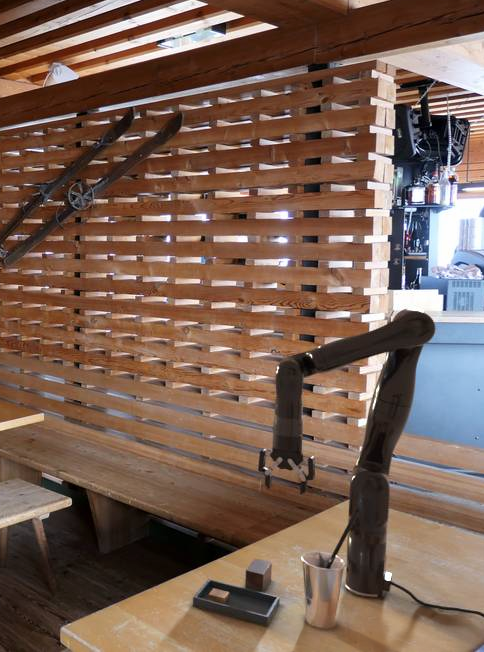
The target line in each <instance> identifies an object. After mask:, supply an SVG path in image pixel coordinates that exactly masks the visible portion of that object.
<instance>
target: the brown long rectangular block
mask: <svg viewBox="0 0 484 652" xmlns="http://www.w3.org/2000/svg"><path fill="white" fill-rule="evenodd" d="M272 565H273V562H272V561H268V560H264V559H260V558H254V559H253V560H252V562H251V563H249V566H248V567H247V568H246V570H245V579H244V580H245V581H244V583H245V585H244V588H246V589H250V590H254V591H258V592H262V593H265V592H266V591H267V589H268V588H269V586H270V584H271V583H272V569H273V566H272Z"/></svg>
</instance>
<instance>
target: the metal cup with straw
mask: <svg viewBox="0 0 484 652" xmlns="http://www.w3.org/2000/svg"><path fill="white" fill-rule="evenodd" d="M358 513H359V510H357V509H356V510H355V512H354V513H353V515H352V517H351V519H350V521H349V523H348V522H347V525H346V527H345V529H344V531H343V533H342V535H341V537H340V538H339V540H338V543H337V544H336V546H335V548H334V550H333V552H332V553H328V552H323V551H306V552H304V553H302V554H301V555H300V556H299V557H300V561H301V562H302V575H303V590H304V591H303V592H304V601H305V602H304V603H305V620H306V623H308V625H311V626H313V627H315V628H318V629H322V630H323V629H325V630H328V629H333V628H334V627H335V626H336V619H337V611H338V606H339V605H338V604H339V600H340V594H341V587H342V580H343V573H344V569H345V567H346V561H345V560H344V559H343V558H341V557H339V556H337V555H338V553H339V552H340V550H341V548H342V546H343V543H344V542H345V541H346V539H347V537H348V532H349V531H350V529H351V527H352V525H353V523H354V521H355V519H356V517H357V515H358Z"/></svg>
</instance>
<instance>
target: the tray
mask: <svg viewBox="0 0 484 652" xmlns="http://www.w3.org/2000/svg"><path fill="white" fill-rule="evenodd" d="M213 588H215V589H219V590H223V591H226V592H229V598H228V600H227V601H226V603H225V604H221V603H217V602H213V601H209V593H210V592H211V591H212V590H213ZM280 601H281V599H280V596H278V595H274V594H270V593H265V592H264V593H262V592H258V591H254V590H250V589H246V588H245V587H242V586H239V585H233V584H231V583H226V582H222V581H218V580H214V579H210V578H208V579H207V580H206V581H205V582H204V584H203V585H202V586H201V587H200V588H199V589H198V591H197V592H196V593H195V594H194V595H193V597H192V607H194V608H199V609H203V610H206V611H209V612H213V613H216V614H221V615H224V616H226V617H227V616H228V617H231V618H234V619H239V620H242V621H246V622H250V623H253V624H257V625H260V626H264V627H268V626H269V624H270V622H272V620H273V617H274V616H275V614H276V612H277V611H278V609H279V607H280Z"/></svg>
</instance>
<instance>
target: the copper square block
mask: <svg viewBox="0 0 484 652" xmlns="http://www.w3.org/2000/svg"><path fill="white" fill-rule="evenodd" d="M228 598H229V592H226V591H223V590H219V589H215V588H213V590H212V591H211V592H210V593H209V601H213V602H217V603H221V604H225V603H226V601H227V600H228Z"/></svg>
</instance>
